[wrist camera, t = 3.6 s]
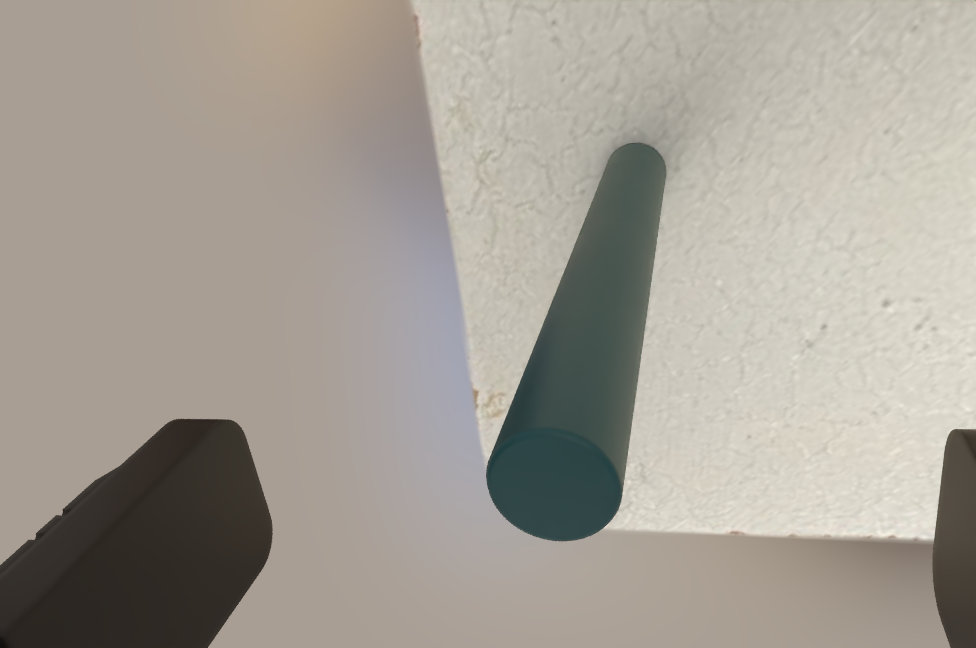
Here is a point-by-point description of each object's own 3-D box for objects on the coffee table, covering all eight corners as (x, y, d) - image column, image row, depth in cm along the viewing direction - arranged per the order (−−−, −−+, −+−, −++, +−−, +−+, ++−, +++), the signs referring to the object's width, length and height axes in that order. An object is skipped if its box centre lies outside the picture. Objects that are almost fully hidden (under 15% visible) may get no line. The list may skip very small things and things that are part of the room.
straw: (608, 202, 22) (493, 541, 10) (603, 145, 21) (474, 430, 9) (667, 198, 21) (625, 548, 9) (664, 139, 21) (616, 431, 9)
